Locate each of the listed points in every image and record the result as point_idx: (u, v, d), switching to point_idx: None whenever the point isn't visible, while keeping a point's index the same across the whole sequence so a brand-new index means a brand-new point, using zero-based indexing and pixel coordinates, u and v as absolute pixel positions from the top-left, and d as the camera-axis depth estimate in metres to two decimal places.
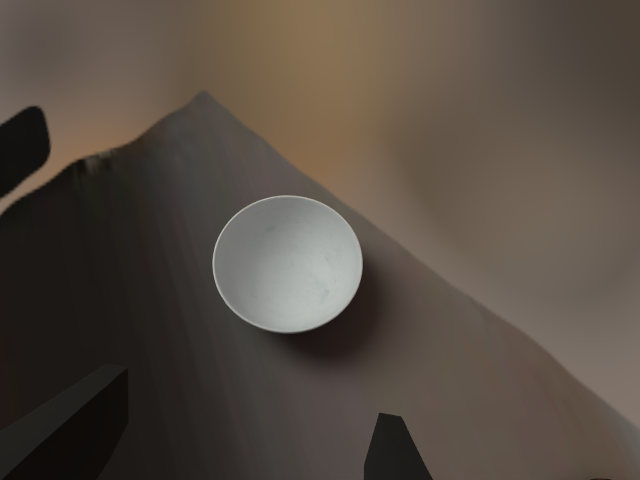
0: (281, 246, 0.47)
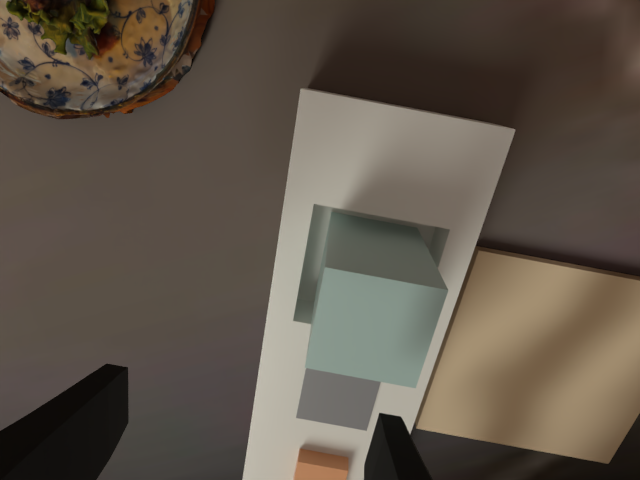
0: None
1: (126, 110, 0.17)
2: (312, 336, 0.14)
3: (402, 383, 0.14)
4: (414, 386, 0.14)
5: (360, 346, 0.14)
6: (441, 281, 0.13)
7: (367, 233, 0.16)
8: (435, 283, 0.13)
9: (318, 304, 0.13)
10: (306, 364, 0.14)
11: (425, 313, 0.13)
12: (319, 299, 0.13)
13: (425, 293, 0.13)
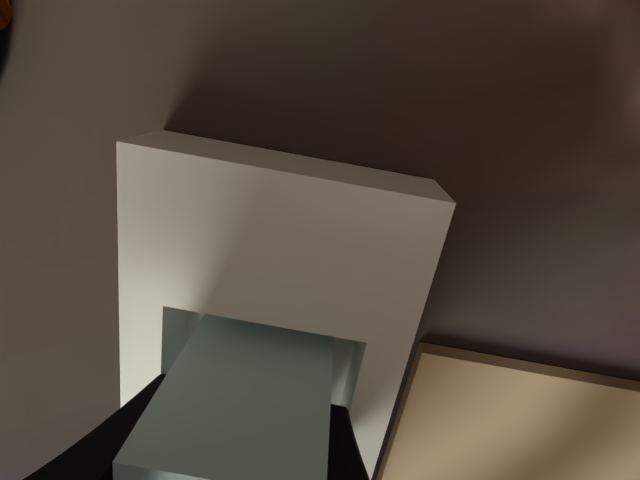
0: None
1: None
2: None
3: None
4: None
5: None
6: (322, 472, 0.08)
7: (246, 347, 0.11)
8: None
9: None
10: None
11: None
12: None
13: None
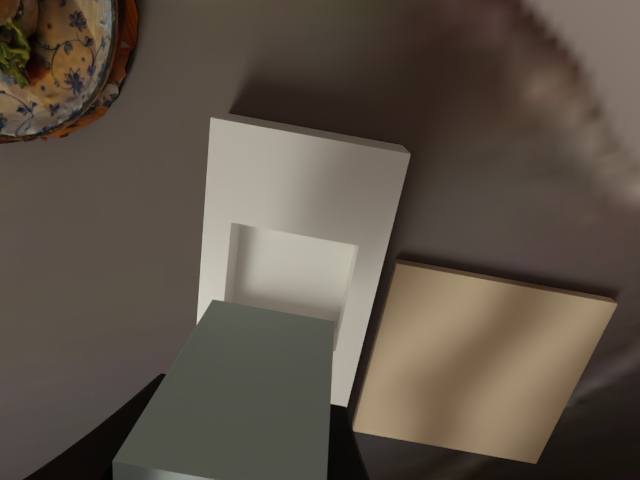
0: None
1: (58, 135, 0.18)
2: None
3: None
4: None
5: None
6: (321, 472, 0.08)
7: (246, 347, 0.11)
8: (309, 479, 0.08)
9: None
10: None
11: None
12: None
13: None
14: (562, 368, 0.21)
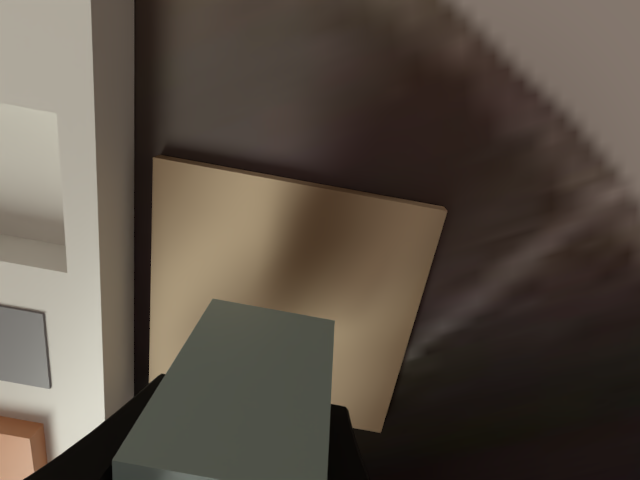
0: None
1: None
2: None
3: None
4: None
5: None
6: (322, 471, 0.08)
7: (246, 345, 0.11)
8: (309, 478, 0.08)
9: None
10: None
11: None
12: None
13: None
14: (391, 303, 0.16)
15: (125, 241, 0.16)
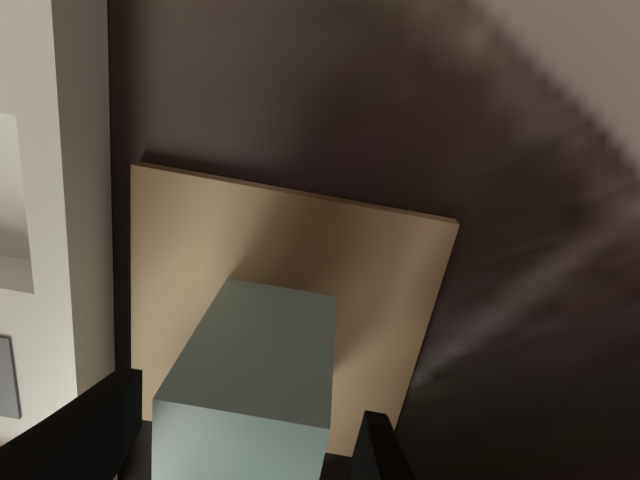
0: None
1: None
2: None
3: None
4: None
5: None
6: (326, 410, 0.09)
7: (258, 315, 0.13)
8: (316, 415, 0.09)
9: (154, 444, 0.09)
10: None
11: (302, 457, 0.09)
12: (153, 438, 0.09)
13: (299, 433, 0.09)
14: (397, 325, 0.15)
15: (102, 257, 0.14)
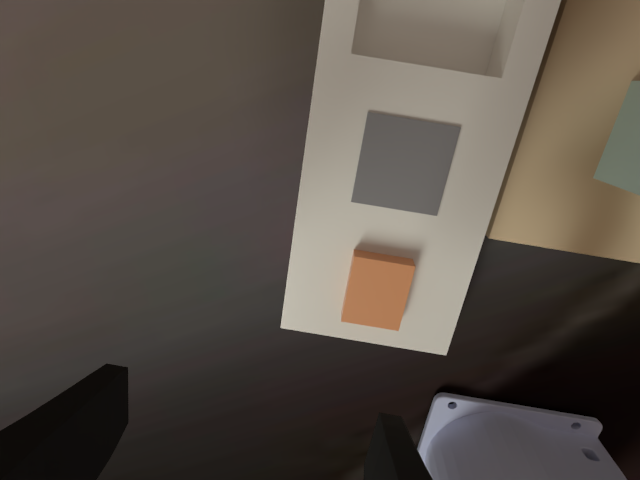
0: None
1: None
2: None
3: None
4: None
5: None
6: None
7: None
8: None
9: None
10: None
11: None
12: None
13: None
14: None
15: None
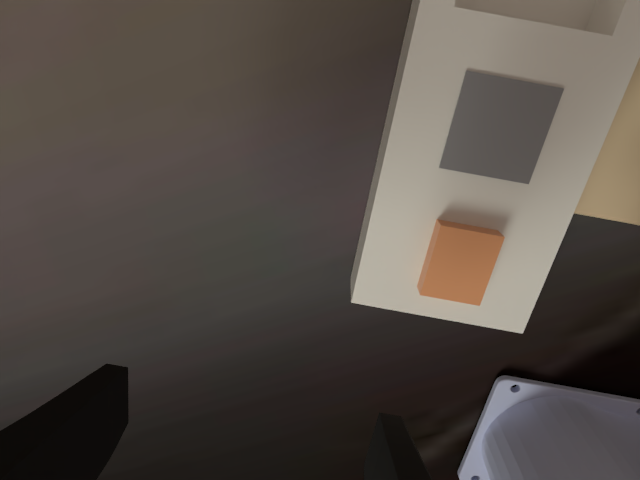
0: None
1: None
2: None
3: None
4: None
5: None
6: None
7: None
8: None
9: None
10: None
11: None
12: None
13: None
14: None
15: None
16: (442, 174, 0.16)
